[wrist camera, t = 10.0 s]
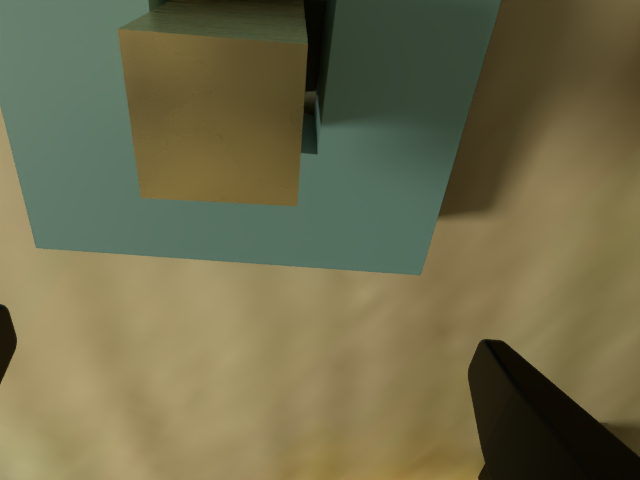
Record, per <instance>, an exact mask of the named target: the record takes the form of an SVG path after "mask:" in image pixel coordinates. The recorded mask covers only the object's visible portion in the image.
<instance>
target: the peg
mask: <svg viewBox="0 0 640 480" xmlns="http://www.w3.org/2000/svg"><path fill="white" fill-rule="evenodd" d="M117 30H118V37H119V44H120V51H121V59H122V66H123V73H124V80H125V88H126V95H127V102H128V109H129V117H130V124H131V131H132V138H133V146H134V153H135V160H136V167H137V175H138V182H139V189H140V196H141V198H150V199H168V200H187V201H206V202H225V203H243V204H262V205H281V206H297V202H298V187H299V172H300V157H301V142H302V127H303V112H304V97H305V82H306V66H307V51H308V40H307V31H306V22H305V12H304V3H303V0H171V1H169V2H167V3H165V4H163V5H161V6H160V7H158V8H156V9H154V10H152V11H150V12H148V13H146V14H145V15H143V16H141V17H139V18H137V19H135V20H133V21H131V22H130V23H128V24H126V25H124V26H122V27H120V28H118V29H117Z"/></svg>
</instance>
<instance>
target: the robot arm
mask: <svg viewBox="0 0 640 480" xmlns="http://www.w3.org/2000/svg"><path fill="white" fill-rule="evenodd" d="M16 345H17V337H16V333H15V330H14V326H13V323H12V319H11V316H10V313H9V310H8V308H7V307H6V306H4V305H1V304H0V384H1V381H2V379H3V377H4V375H5V372H6V370H7V368H8V365H9V363H10V361H11V359H12V356H13V354H14V352H15V349H16ZM468 381H469V386H470V391H471V397H472V402H473V407H474V413H475V418H476V423H477V429H478V434H479V439H480V444H481V449H482V453H483V456H484V460H485V465H484V467H483V469H482V471H481V473H480V475H479V476H478V480H640V457H639V456H638V455H637V454H636V453H635V452H633V451H632V450H631V449H630V448H629V447H627V446H626V445H625V444H624V443H623V442H622V441H620V440H619V439H618V438H617V437H616V436H615V435H613V434H612V433H611V432H610V431H609V430H607V429H606V428H605V427H604V426H603V425H602V424H600V423H599V422H598V421H597V420H596V419H595V418H593V417H592V416H591V415H590V414H589V413H587V412H586V411H585V410H584V409H583V408H582V407H580V406H579V405H578V404H577V403H576V402H575V401H573V400H572V399H571V398H570V397H569V396H567V395H566V394H565V393H564V392H563V391H562V390H560V389H559V388H558V387H557V386H556V385H555V384H553V383H552V382H551V381H550V380H549V379H547V378H546V377H545V376H544V375H543V374H542V373H540V372H539V371H538V370H537V369H536V368H535V367H533V366H532V365H531V364H530V363H529V362H527V361H526V360H525V359H524V358H523V357H522V356H520V355H519V354H518V353H517V352H516V351H515V350H513V349H512V348H511V347H510V346H509V345H507V344H506V343H505V342H503V341H501V340H492V339H483V340H481V341H480V342H479V344H478V346H477V349H476V351H475V354H474V356H473V358H472V361H471V363H470V366H469V369H468Z"/></svg>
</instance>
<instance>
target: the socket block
mask: <svg viewBox="0 0 640 480" xmlns="http://www.w3.org/2000/svg"><path fill="white" fill-rule="evenodd" d="M169 1H171V0H0V106H1V110H2V114H3V118H4V122H5V126H6V130H7V134H8V138H9V142H10V146H11V150H12V154H13V158H14V162H15V166H16V170H17V174H18V178H19V182H20V186H21V189H22V193H23V197H24V201H25V205H26V209H27V213H28V217H29V221H30V225H31V229H32V233H33V237H34V241H35V245H36V248H43V249H57V250H71V251H85V252H99V253H113V254H127V255H142V256H156V257H170V258H184V259H198V260H212V261H227V262H241V263H255V264H269V265H283V266H297V267H311V268H326V269H340V270H354V271H368V272H382V273H396V274H411V275H421V273H422V269H423V266H424V262H425V259H426V256H427V252H428V249H429V245H430V242H431V239H432V235H433V232H434V228H435V225H436V221H437V218H438V215H439V211H440V208H441V204H442V201H443V198H444V194H445V191H446V187H447V184H448V181H449V177H450V174H451V170H452V167H453V164H454V160H455V157H456V153H457V150H458V146H459V143H460V140H461V136H462V133H463V129H464V126H465V123H466V119H467V116H468V112H469V109H470V106H471V102H472V99H473V95H474V92H475V89H476V85H477V82H478V78H479V75H480V72H481V68H482V65H483V61H484V58H485V54H486V51H487V48H488V44H489V41H490V37H491V34H492V31H493V27H494V24H495V20H496V17H497V14H498V10H499V7H500V3H501V0H327V2H326V11H325V20H324V29H323V38H322V47H321V55H320V64H319V73H318V82H317V91H316V100H315V108H314V115H313V114H303V127H302V142H301V157H300V172H299V187H298V202H297V206H281V205H262V204H243V203H225V202H206V201H187V200H168V199H150V198H141V196H140V189H139V182H138V175H137V167H136V160H135V153H134V146H133V138H132V131H131V124H130V117H129V109H128V102H127V95H126V88H125V80H124V73H123V66H122V59H121V51H120V44H119V37H118V30H117V29H118V28H120V27H122V26H124V25H126V24H128V23H130V22H131V21H133V20H135V19H137V18H139V17H141V16H143V15H145V14H146V13H148V12H150V11H152V10H154V9H156V8H158V7H160V6H161V5H163V4H165V3H167V2H169Z"/></svg>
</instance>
